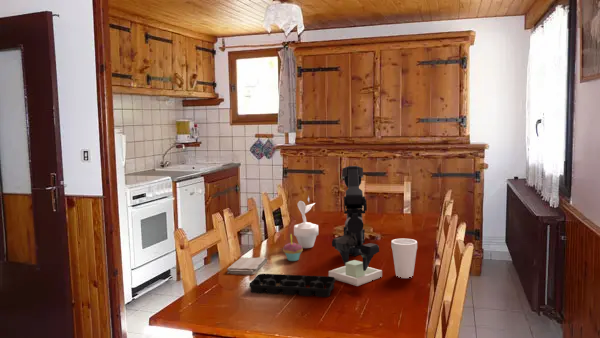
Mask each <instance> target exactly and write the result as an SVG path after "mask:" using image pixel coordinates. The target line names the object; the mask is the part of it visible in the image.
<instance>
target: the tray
mask: <svg viewBox="0 0 600 338" xmlns="http://www.w3.org/2000/svg"><path fill="white" fill-rule="evenodd" d="M328 276H330V277H334V278H335V281H339V282H342V283H346V284H349V285H353V286H354V287H355V286H356V287H359V286H361V285H364V284H365V285H366V284H367V283H369V282H372V280H373V281H375V280H378V279H381V278H382V277H383V270H382V269H377V268H374V267H371V266H370V267H369V266H368V267H367V269H366V271H365V275H364V276H361V277H358V278H355V277H352V276H348V275H346V266H345V265H344V266H340V267H337V268H334V269H332V270H328ZM380 277H381V278H380Z"/></svg>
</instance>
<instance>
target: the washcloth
mask: <svg viewBox="0 0 600 338" xmlns="http://www.w3.org/2000/svg"><path fill="white" fill-rule="evenodd" d="M267 263H268V259H267V257H239V259H238V260H236V261H234V262H233V263H232V264H231V265H230V266H229V267H227V268H226V271H227V272H226V274H227V275H228V274H231V275H246V276H247V275H248V276H249V275H250V276H251V275H252V276H253V275H255V273H256V274H257V273H258V272H260V270H261V269H262V268H263V267H264V266H265V265H266V264H267Z"/></svg>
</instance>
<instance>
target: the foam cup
mask: <svg viewBox="0 0 600 338" xmlns="http://www.w3.org/2000/svg"><path fill="white" fill-rule="evenodd" d="M390 244H391V249H392V258H393V264H394V272H395V276H396V277H397V276H398V277H397V278H400V277H401V278H400V279H410V278H409V277H411V278H413V277H414V272H415V266H416V265H415V264H416V258H417V250H418V241H417V240H416V239H412V238H404V237H403V238H395V239H391V243H390ZM412 276H413V277H412Z"/></svg>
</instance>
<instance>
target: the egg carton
mask: <svg viewBox="0 0 600 338" xmlns="http://www.w3.org/2000/svg"><path fill="white" fill-rule="evenodd" d="M277 284H279V285H277ZM335 284H336V280H335V278H334V277H330V276H329V275H327V276H326V275H325V276H324V275H299V274H297V275H296V274H281V273H280V274H278V273H259V274H257V275H256V276H255V277H254V279H253V280H252V281H250V282H249V288H250V291H251V292H252V293H253V294H263V293H265V292H266V294H268V295H280V294H281V293H282V295H285V296H296V295H297V294H298V295H299V296H301V297H312V296H313V295H315V297H318V298H329V297H330V296H331V291H333V290H334V288H335ZM307 286H309V287H307Z"/></svg>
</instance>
